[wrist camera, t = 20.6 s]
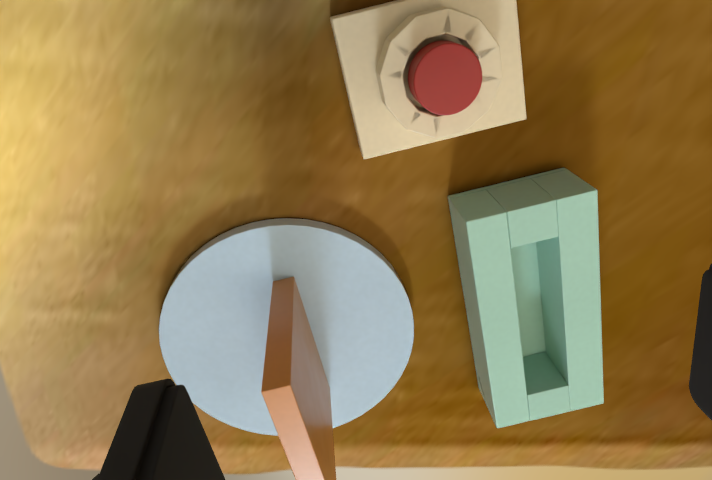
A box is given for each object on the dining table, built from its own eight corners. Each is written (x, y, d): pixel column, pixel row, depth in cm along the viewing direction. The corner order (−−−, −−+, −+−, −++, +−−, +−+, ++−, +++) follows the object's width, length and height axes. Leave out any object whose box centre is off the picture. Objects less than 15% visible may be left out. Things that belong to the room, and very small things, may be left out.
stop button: (413, 116, 30) (419, 123, 28) (401, 49, 28) (407, 52, 27) (476, 100, 30) (486, 106, 28) (468, 32, 28) (478, 35, 27)
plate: (212, 446, 43) (210, 458, 42) (121, 254, 36) (115, 262, 34) (429, 394, 43) (432, 405, 42) (384, 189, 35) (387, 195, 34)
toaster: (478, 387, 43) (496, 429, 39) (447, 195, 36) (465, 221, 32) (575, 364, 43) (603, 403, 39) (564, 166, 36) (597, 189, 32)
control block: (360, 149, 34) (366, 168, 30) (329, 17, 31) (333, 20, 27) (513, 111, 34) (539, 126, 30) (500, -27, 30) (527, -29, 27)
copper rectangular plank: (310, 393, 40) (313, 524, 30) (272, 281, 36) (260, 392, 26) (330, 388, 40) (339, 518, 30) (293, 275, 36) (290, 384, 26)
